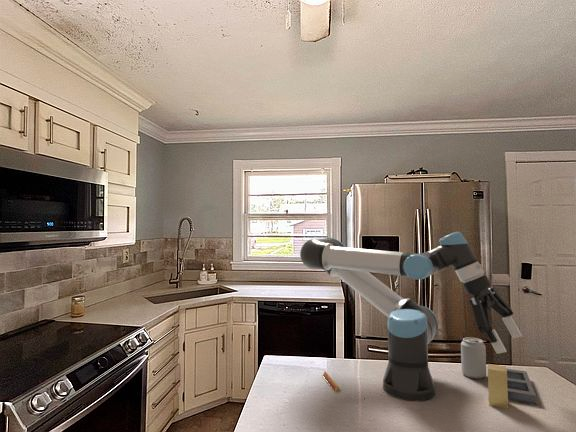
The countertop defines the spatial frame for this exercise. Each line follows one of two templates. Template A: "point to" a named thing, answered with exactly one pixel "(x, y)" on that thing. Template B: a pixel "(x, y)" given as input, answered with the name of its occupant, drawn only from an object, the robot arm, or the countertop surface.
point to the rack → (520, 387)
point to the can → (473, 358)
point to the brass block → (497, 386)
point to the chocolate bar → (331, 382)
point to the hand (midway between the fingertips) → (510, 344)
